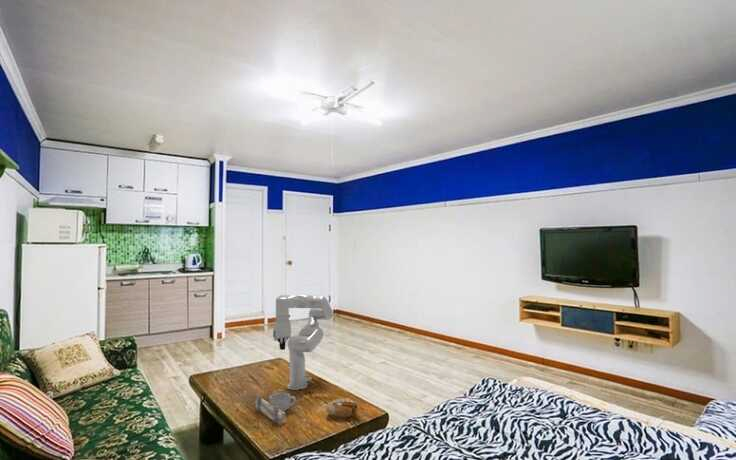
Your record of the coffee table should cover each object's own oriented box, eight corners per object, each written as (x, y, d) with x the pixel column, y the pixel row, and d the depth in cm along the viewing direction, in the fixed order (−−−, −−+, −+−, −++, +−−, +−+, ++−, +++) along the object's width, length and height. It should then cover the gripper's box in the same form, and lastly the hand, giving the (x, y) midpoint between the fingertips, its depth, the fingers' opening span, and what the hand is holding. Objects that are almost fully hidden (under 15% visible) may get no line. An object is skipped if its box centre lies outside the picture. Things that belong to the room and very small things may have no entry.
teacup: (265, 413, 196) (265, 398, 196) (276, 405, 206) (276, 390, 206) (289, 417, 191) (288, 401, 192) (299, 408, 202) (299, 393, 202)
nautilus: (370, 419, 188) (348, 432, 178) (343, 404, 203) (321, 415, 193) (370, 404, 188) (348, 415, 177) (343, 390, 203) (321, 400, 193)
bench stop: (260, 407, 204) (260, 392, 204) (285, 423, 185) (285, 406, 185) (253, 409, 201) (253, 394, 201) (277, 426, 182) (277, 409, 182)
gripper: (289, 315, 228) (290, 345, 228) (267, 319, 218) (267, 350, 217) (296, 317, 223) (296, 348, 222) (274, 320, 213) (274, 353, 212)
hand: (282, 349), depth 220 cm, fingers closed
